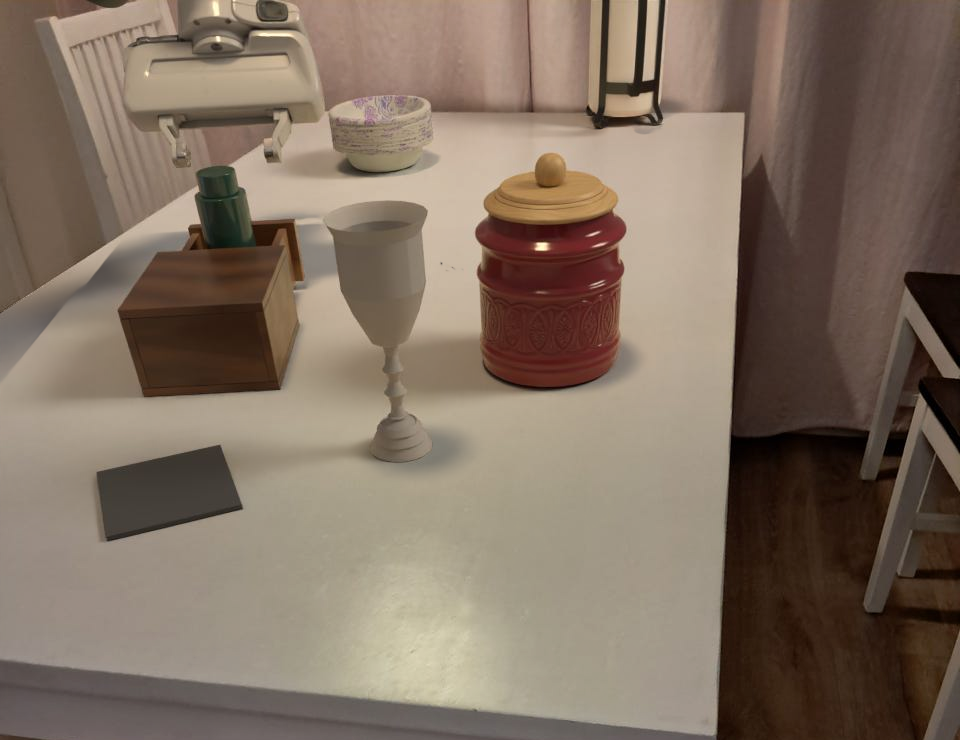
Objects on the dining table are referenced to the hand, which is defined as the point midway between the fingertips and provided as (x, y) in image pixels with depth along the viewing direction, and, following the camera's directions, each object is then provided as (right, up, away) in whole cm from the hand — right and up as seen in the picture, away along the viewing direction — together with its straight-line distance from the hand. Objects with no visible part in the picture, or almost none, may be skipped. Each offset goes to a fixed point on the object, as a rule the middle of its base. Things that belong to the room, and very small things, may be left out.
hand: (227, 162), depth 94 cm
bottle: (+1, -12, +3) cm, 13 cm away
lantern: (+50, +37, +59) cm, 86 cm away
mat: (+2, -37, -22) cm, 44 cm away
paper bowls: (+12, +23, +46) cm, 53 cm away
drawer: (+1, -12, +5) cm, 13 cm away
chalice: (+20, -33, -19) cm, 43 cm away
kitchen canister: (+33, -23, -8) cm, 40 cm away
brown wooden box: (+1, -22, -4) cm, 22 cm away
